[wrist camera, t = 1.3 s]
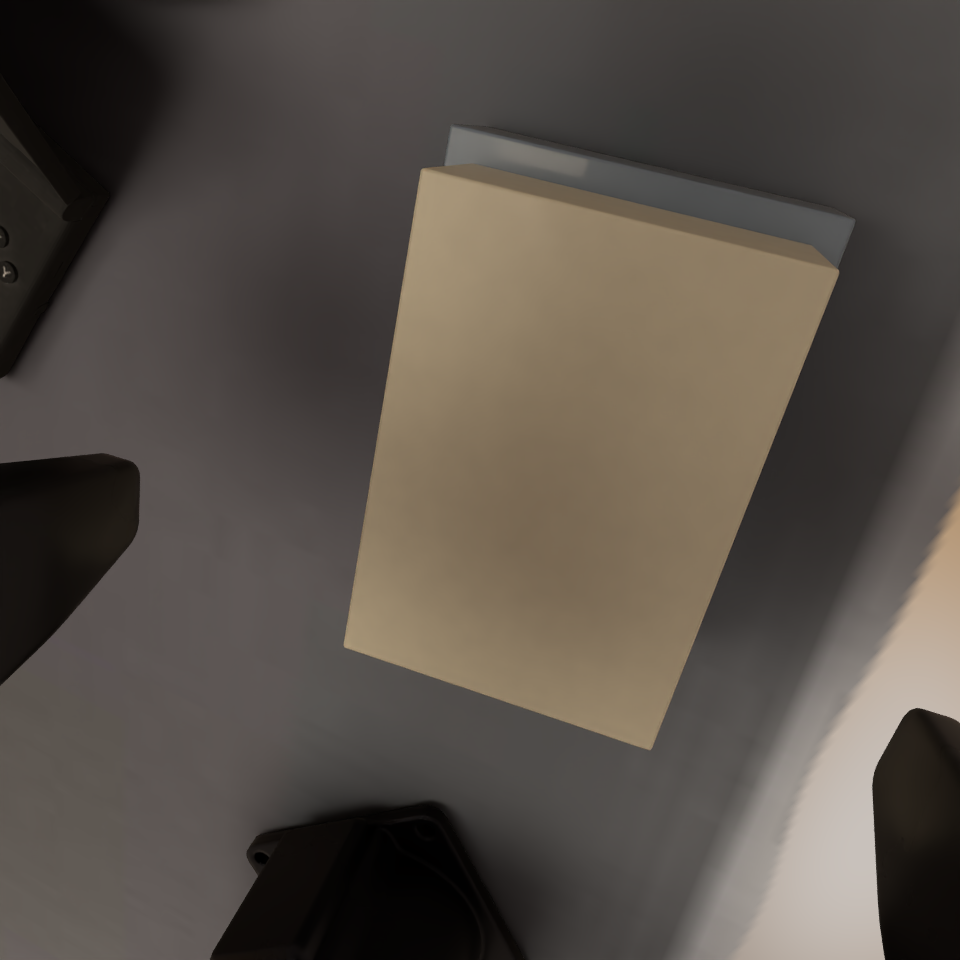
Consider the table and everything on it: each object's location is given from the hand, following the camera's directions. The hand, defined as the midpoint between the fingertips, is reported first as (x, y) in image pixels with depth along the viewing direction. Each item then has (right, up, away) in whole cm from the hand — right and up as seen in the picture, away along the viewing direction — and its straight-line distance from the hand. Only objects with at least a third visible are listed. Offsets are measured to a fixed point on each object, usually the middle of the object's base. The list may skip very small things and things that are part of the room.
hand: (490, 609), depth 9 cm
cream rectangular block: (+2, +2, +5) cm, 6 cm away
